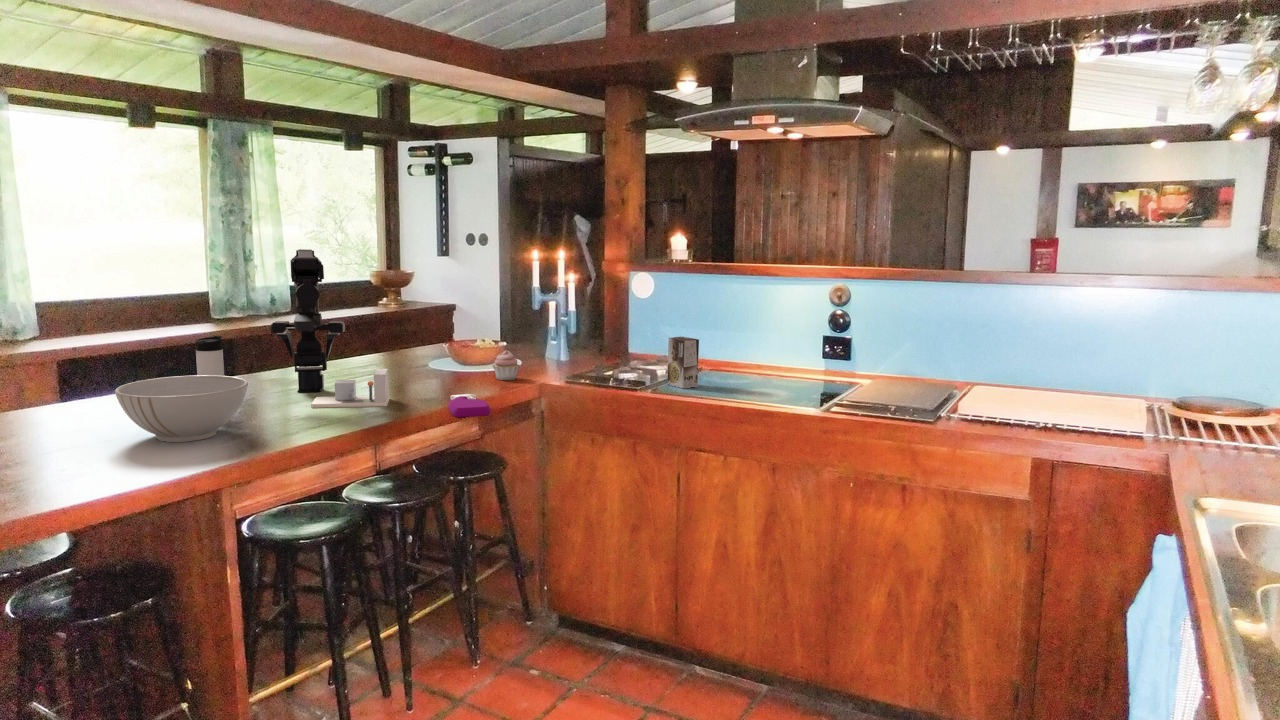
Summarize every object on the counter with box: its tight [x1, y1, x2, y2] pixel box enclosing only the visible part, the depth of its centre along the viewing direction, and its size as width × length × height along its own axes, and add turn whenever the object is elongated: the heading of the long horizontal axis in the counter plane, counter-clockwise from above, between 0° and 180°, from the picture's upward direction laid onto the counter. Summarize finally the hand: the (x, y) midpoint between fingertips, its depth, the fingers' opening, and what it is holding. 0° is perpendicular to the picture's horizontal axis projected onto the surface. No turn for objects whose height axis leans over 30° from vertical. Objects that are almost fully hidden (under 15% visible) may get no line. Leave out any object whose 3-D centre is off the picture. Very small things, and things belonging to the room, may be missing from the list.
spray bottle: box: [447, 393, 491, 418], centre depth 225 cm, size 3×11×24 cm
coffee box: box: [667, 336, 700, 389], centre depth 264 cm, size 9×6×16 cm
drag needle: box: [367, 380, 374, 400], centre depth 224 cm, size 2×2×5 cm
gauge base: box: [310, 368, 390, 409], centre depth 225 cm, size 20×10×9 cm, turn 104°
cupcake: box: [491, 349, 521, 381], centre depth 269 cm, size 9×9×10 cm
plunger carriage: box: [334, 379, 357, 400], centre depth 225 cm, size 5×8×5 cm, turn 14°
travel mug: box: [195, 335, 225, 376], centre depth 210 cm, size 6×7×20 cm
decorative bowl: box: [114, 374, 249, 443], centre depth 186 cm, size 27×27×12 cm
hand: (309, 357), depth 223 cm, fingers open, 9 cm apart
